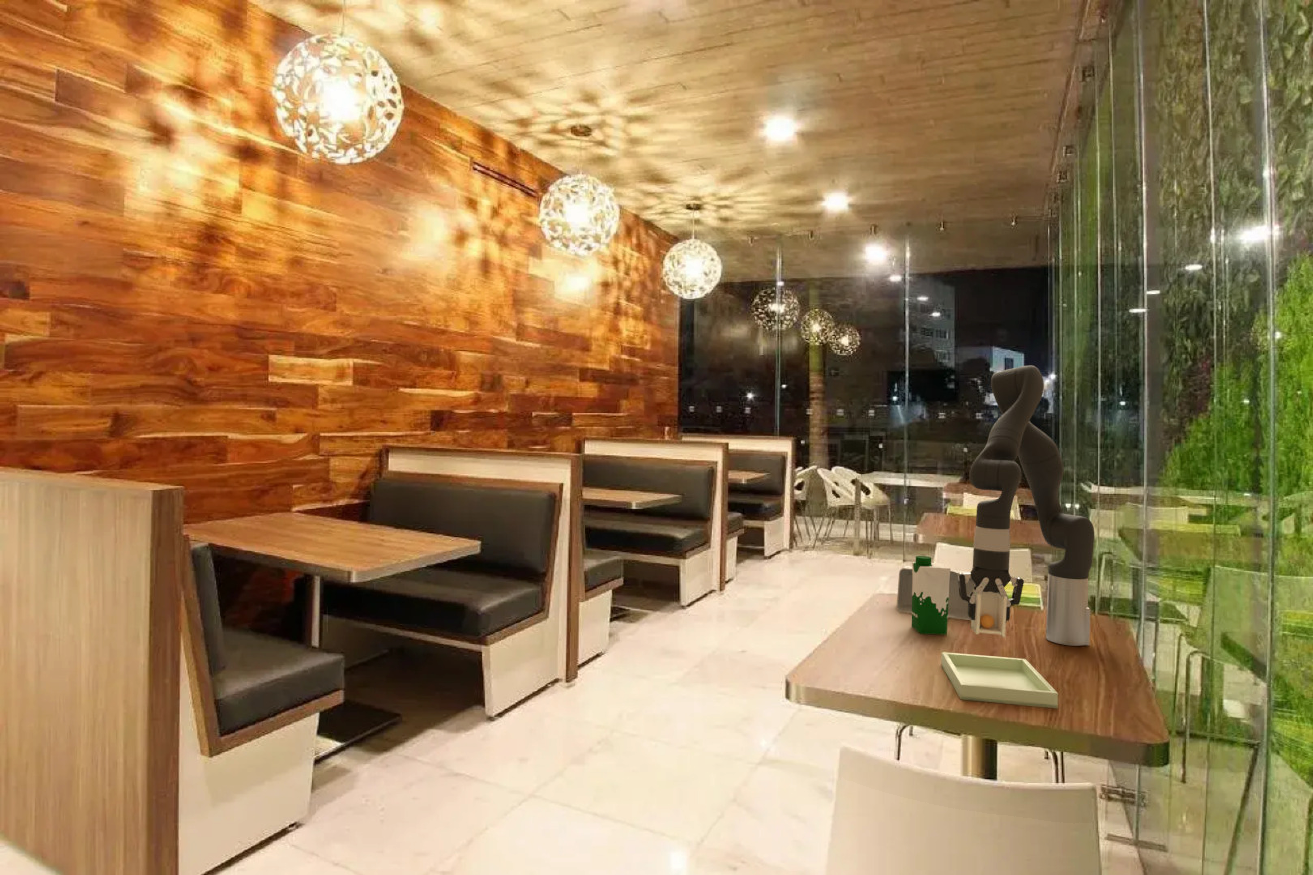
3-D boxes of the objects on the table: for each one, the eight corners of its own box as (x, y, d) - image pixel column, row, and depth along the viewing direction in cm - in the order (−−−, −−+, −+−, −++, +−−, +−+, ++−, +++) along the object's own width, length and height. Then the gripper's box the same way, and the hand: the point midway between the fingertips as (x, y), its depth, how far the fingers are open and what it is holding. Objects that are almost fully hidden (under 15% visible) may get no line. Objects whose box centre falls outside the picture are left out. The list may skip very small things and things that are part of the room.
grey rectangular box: (988, 610, 224) (989, 570, 223) (987, 623, 209) (989, 579, 209) (902, 600, 234) (903, 561, 234) (896, 611, 220) (897, 570, 219)
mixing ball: (992, 627, 169) (992, 614, 169) (995, 629, 166) (995, 615, 166) (978, 626, 169) (978, 613, 170) (981, 628, 166) (981, 614, 167)
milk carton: (907, 625, 203) (909, 554, 203) (940, 626, 203) (942, 555, 203) (917, 634, 195) (920, 559, 194) (952, 635, 194) (954, 560, 194)
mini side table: (970, 627, 170) (972, 588, 170) (998, 630, 169) (1000, 591, 169) (976, 634, 164) (978, 594, 164) (1005, 637, 163) (1006, 596, 163)
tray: (1025, 672, 166) (1025, 659, 166) (1057, 708, 145) (1058, 693, 145) (941, 664, 170) (941, 652, 170) (960, 699, 148) (961, 684, 148)
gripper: (1021, 547, 169) (1017, 620, 169) (955, 542, 172) (951, 614, 172) (1030, 552, 161) (1026, 628, 161) (961, 547, 164) (957, 621, 165)
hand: (988, 620), depth 167 cm, fingers closed on mini side table, 6 cm apart
